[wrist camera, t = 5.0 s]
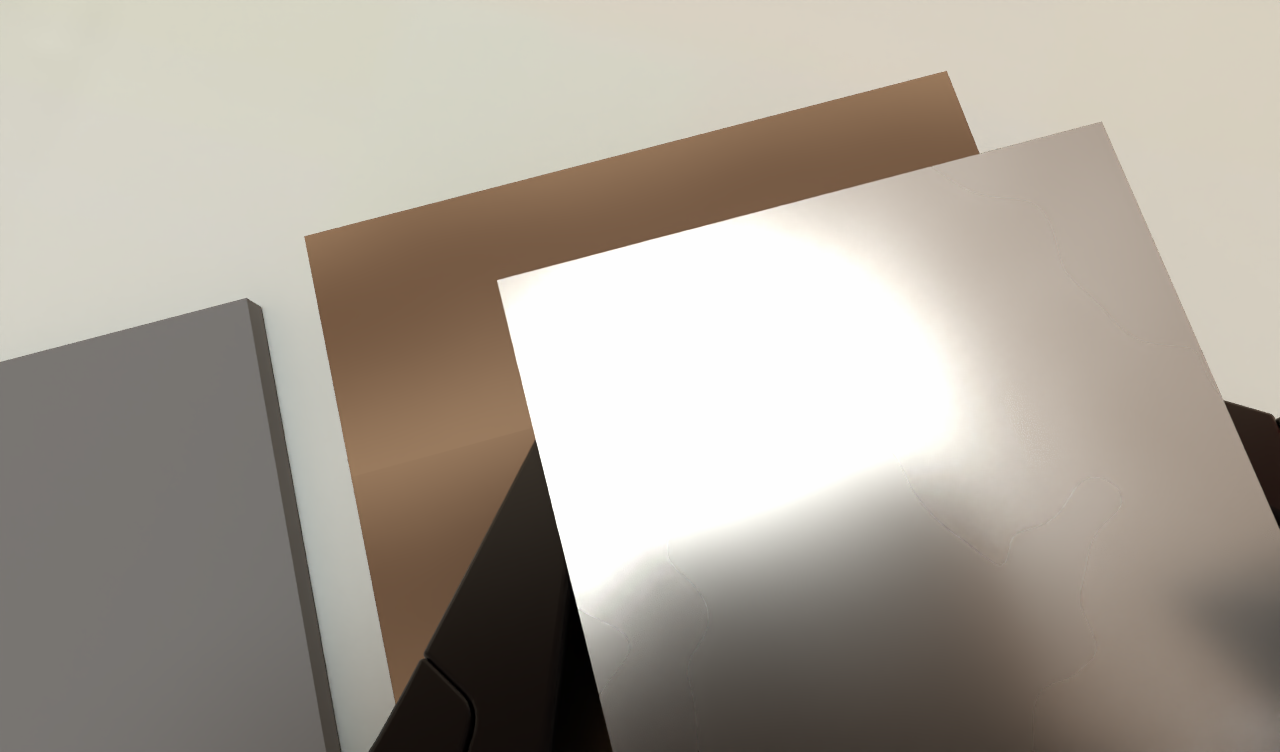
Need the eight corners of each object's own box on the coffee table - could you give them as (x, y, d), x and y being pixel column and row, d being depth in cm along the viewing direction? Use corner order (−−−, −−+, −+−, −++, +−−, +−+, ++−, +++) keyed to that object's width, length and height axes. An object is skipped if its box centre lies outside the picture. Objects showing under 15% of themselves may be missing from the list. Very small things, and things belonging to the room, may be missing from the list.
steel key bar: (860, 610, 15) (1385, 771, 4) (657, 669, 15) (672, 986, 4) (796, 410, 16) (1101, 121, 5) (602, 462, 16) (496, 279, 5)
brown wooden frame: (1165, 832, 14) (1272, 892, 12) (510, 1030, 14) (479, 1136, 11) (904, 139, 17) (946, 71, 15) (355, 282, 17) (304, 236, 14)
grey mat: (396, 1065, 14) (385, 1089, 13) (-195, 1246, 13) (-234, 1277, 13) (260, 306, 16) (246, 298, 16) (-228, 434, 16) (-261, 430, 15)
